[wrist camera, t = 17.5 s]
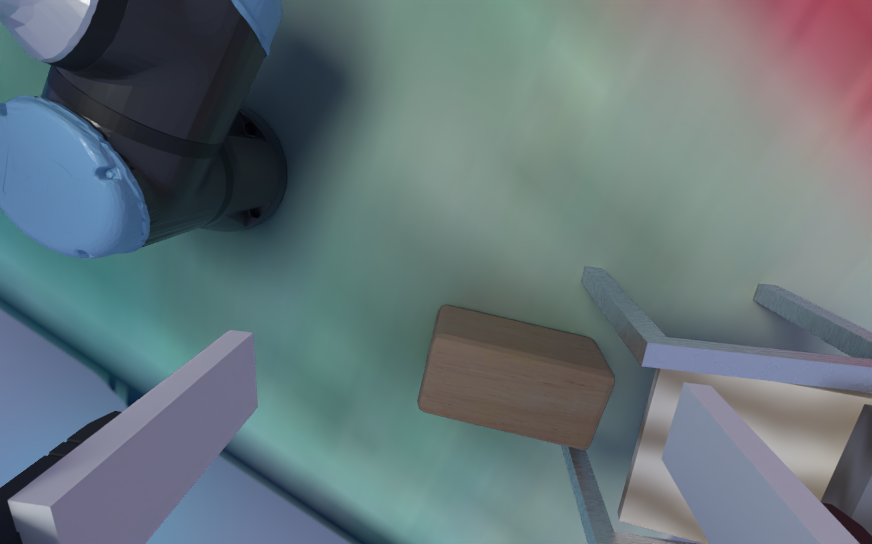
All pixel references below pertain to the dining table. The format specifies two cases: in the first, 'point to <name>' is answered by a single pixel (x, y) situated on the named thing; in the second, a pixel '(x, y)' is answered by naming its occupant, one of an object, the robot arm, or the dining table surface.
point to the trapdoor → (779, 429)
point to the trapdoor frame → (717, 371)
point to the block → (515, 377)
